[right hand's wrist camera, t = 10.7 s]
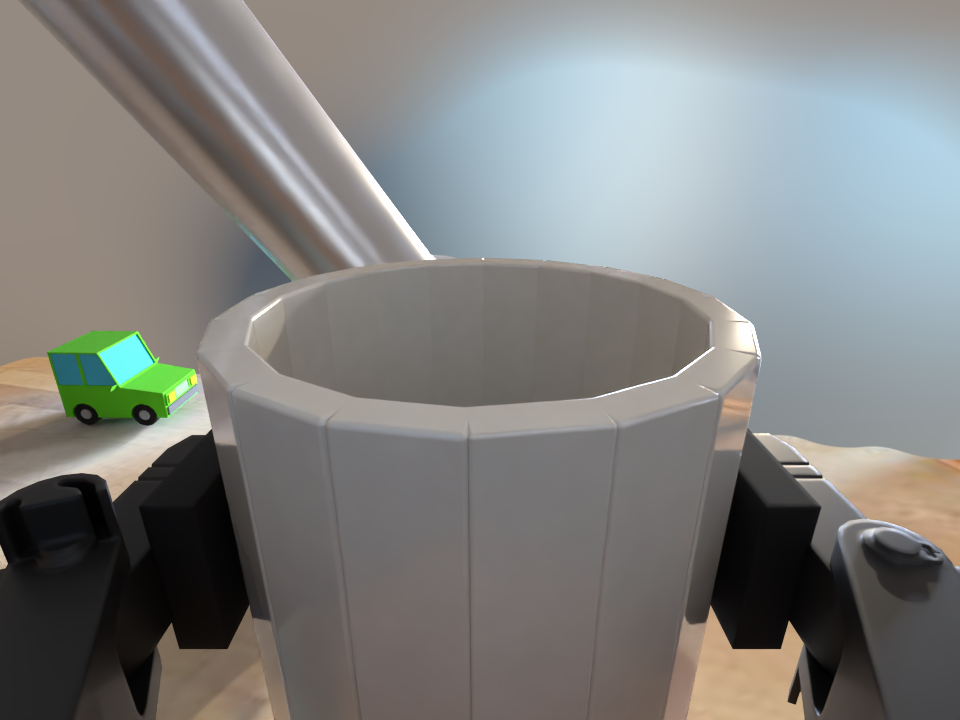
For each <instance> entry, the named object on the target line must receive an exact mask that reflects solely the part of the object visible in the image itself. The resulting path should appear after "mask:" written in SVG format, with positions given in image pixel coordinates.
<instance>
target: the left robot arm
mask: <svg viewBox="0 0 960 720" xmlns="http://www.w3.org/2000/svg"><path fill="white" fill-rule="evenodd" d="M19 1H20V2H21V4H22V5H23V6H24V7H25V8H26V9H27V10H28V11H29V12H30V13H31V14H32V15H33V16H34V17H35V18H36V19H37V20H38V21H39V22H40V23H41V24H42V25H43V26H44V27H45V28H46V29H47V30H48V31H49V32H50V33H51V34H52V35H53V36H54V37H55V38H56V39H57V40H58V41H59V42H60V43H61V44H62V45H63V47H64V48H65V49H66V50H67V51H68V52H69V53H70V54H71V55H72V56H73V57H74V58H75V59H76V60H77V61H78V62H79V63H80V64H81V65H82V66H83V67H84V68H85V69H86V70H87V71H88V72H89V73H90V74H91V75H92V76H93V77H94V78H95V79H96V80H97V81H98V82H99V83H100V84H101V85H102V86H103V88H105V90H106V91H107V92H108V93H109V94H110V95H111V96H112V97H113V98H114V99H115V100H116V101H117V102H118V103H119V104H120V105H121V106H122V107H123V108H124V109H125V110H126V111H127V112H128V113H129V114H130V115H131V116H132V117H133V118H134V119H135V120H136V121H137V122H138V123H139V124H140V125H141V126H142V127H143V128H144V130H145V131H146V132H147V133H148V134H149V135H150V136H151V137H152V138H153V139H154V140H155V141H156V142H157V143H158V144H159V145H160V146H161V147H162V148H163V149H164V150H165V151H166V152H167V153H168V154H169V155H170V156H171V157H172V158H173V159H174V160H175V161H176V162H177V163H178V164H179V165H180V166H181V167H182V168H183V169H184V170H185V172H186V173H187V174H188V175H189V176H190V177H191V178H192V179H193V180H194V181H195V182H196V183H197V184H198V185H199V186H200V187H201V188H202V189H203V190H204V191H205V192H206V193H207V194H208V195H209V196H210V197H211V198H212V199H213V200H214V201H215V202H216V203H217V204H218V205H219V206H220V207H221V208H222V209H223V210H224V211H225V212H226V214H227V215H228V216H229V217H230V218H231V219H232V220H233V221H234V222H235V223H236V224H237V225H238V226H239V227H240V228H241V229H242V230H243V231H244V232H245V233H246V234H247V235H248V236H249V237H250V238H251V239H252V240H253V241H254V242H255V243H256V244H257V245H258V246H259V247H260V248H261V249H262V250H263V251H264V252H265V253H266V255H267V256H268V257H269V258H270V259H271V260H272V261H273V262H274V263H275V264H276V265H277V266H278V267H279V268H280V269H281V270H282V271H283V272H284V273H285V274H286V275H287V276H288V277H289V278H290V279H291V280H292V281H295V280H298V279H301V278H306V277H309V276H314V275H320V274H325V273H330V272H335V271H340V270H345V269H350V268H355V267H363V266H366V265H376V264H385V263H395V262H404V261H414V260H427V259H456V258H454V257H450V256H442V255H430V254H429V252H428V251H427V250H426V248H425V247H424V246H423V244H422V243H421V241H420V240H419V239H418V237H417V236H416V235H415V233H414V232H413V231H412V229H411V228H410V227H409V225H408V224H407V222H406V221H405V220H404V218H403V217H402V216H401V214H400V213H399V212H398V210H397V209H396V208H395V206H394V205H393V204H392V202H391V201H390V199H389V198H388V197H387V195H386V194H385V193H384V191H383V190H382V189H381V187H380V186H379V184H378V183H377V182H376V180H375V179H374V178H373V176H372V175H371V174H370V172H369V171H368V170H367V168H366V167H365V166H364V164H363V163H362V161H361V160H360V159H359V157H358V156H357V155H356V153H355V152H354V151H353V149H352V148H351V147H350V145H349V144H348V143H347V141H346V140H345V138H344V137H343V136H342V134H341V133H340V132H339V130H338V129H337V128H336V126H335V125H334V123H333V122H332V121H331V119H330V118H329V117H328V115H327V114H326V113H325V111H324V110H323V109H322V107H321V106H320V104H319V103H318V102H317V100H316V99H315V98H314V96H313V95H312V94H311V92H310V91H309V90H308V88H307V87H306V85H305V84H304V83H303V81H302V80H301V79H300V77H299V76H298V75H297V73H296V72H295V71H294V69H293V68H292V66H291V65H290V64H289V62H288V61H287V60H286V58H285V57H284V56H283V54H282V53H281V52H280V50H279V49H278V48H277V46H276V45H275V44H274V42H273V41H272V39H271V38H270V37H269V35H268V34H267V33H266V31H265V30H264V28H263V27H262V26H261V24H260V23H259V22H258V20H257V19H256V18H255V16H254V15H253V14H252V12H251V11H250V10H249V8H248V7H247V5H246V4H245V3H244V1H243V0H19Z"/></svg>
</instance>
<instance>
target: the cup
mask: <svg viewBox="0 0 960 720" xmlns="http://www.w3.org/2000/svg"><path fill="white" fill-rule="evenodd" d="M196 356H197V361H198V366H199V370H200V375H201V380H202V384H203V389H204V394H205V398H206V403H207V408H208V412H209V417H210V422H211V427H212V431H213V436H214V441H215V445H216V450H217V455H218V459H219V464H220V469H221V473H222V478H223V483H224V487H225V492H226V497H227V502H228V506H229V511H230V516H231V520H232V525H233V530H234V534H235V539H236V544H237V548H238V553H239V558H240V562H241V567H242V572H243V577H244V581H245V586H246V591H247V595H248V600H249V605H250V609H251V614H252V619H253V623H254V628H255V633H256V637H257V642H258V647H259V652H260V656H261V661H262V666H263V670H264V675H265V680H266V684H267V689H268V694H269V698H270V703H271V708H272V712H273V717H274V720H686V719H687V714H688V709H689V705H690V700H691V695H692V690H693V685H694V681H695V676H696V671H697V666H698V662H699V657H700V652H701V647H702V642H703V638H704V633H705V628H706V623H707V618H708V614H709V609H710V604H711V599H712V594H713V590H714V585H715V580H716V575H717V570H718V566H719V561H720V556H721V551H722V547H723V542H724V537H725V532H726V527H727V523H728V518H729V513H730V508H731V503H732V499H733V494H734V489H735V484H736V479H737V475H738V470H739V465H740V460H741V456H742V451H743V446H744V441H745V436H746V432H747V427H748V422H749V417H750V412H751V407H752V403H753V398H754V393H755V388H756V384H757V379H758V374H759V369H760V364H761V360H762V359H761V355H760V351H759V347H758V343H757V339H756V335H755V331H754V327H753V325H752V324H751V323H750V322H749V321H748V320H747V319H745V318H744V317H742V316H741V315H739V314H738V313H736V312H735V311H734V310H732V309H731V308H729V307H728V306H726V305H725V304H724V303H722V302H721V301H719V300H718V299H716V298H715V297H713V296H711V295H708V294H705V293H702V292H699V291H697V290H694V289H691V288H688V287H685V286H683V285H680V284H677V283H674V282H671V281H668V280H666V279H662V278H657V277H653V276H648V275H643V274H638V273H633V272H628V271H624V270H619V269H614V268H609V267H605V268H604V267H602V266H593V265H584V264H575V263H566V262H557V261H549V260H548V261H543V260H529V259H502V258H485V259H483V258H459V259H427V260H414V261H404V262H395V263H385V264H376V265H366V266H363V267H355V268H350V269H345V270H340V271H335V272H330V273H325V274H320V275H314V276H309V277H306V278H301V279H298V280H295V281H292V282H289V283H286V284H284V285H280V286H277V287H274V288H272V289H269V290H265V291H263V292H260V293H256V294H254V295H253V296H250V297H248V298H246V299H244V300H243V301H241V302H240V303H238V304H236V305H235V306H233V307H231V308H230V309H228V310H227V311H225V312H223V313H222V314H220V315H219V316H217V317H216V318H214V319H213V320H211V321H209V324H208V326H207V328H206V331H205V333H204V335H203V338H202V340H201V342H200V345H199V347H198V350H197V352H196Z"/></svg>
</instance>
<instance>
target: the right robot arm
mask: <svg viewBox="0 0 960 720" xmlns="http://www.w3.org/2000/svg"><path fill="white" fill-rule="evenodd" d="M0 545H1V548H2V550H3V553H4V555H5V557H6V560H7V562H8V565H7V567H6V569H1V570H0V720H155V718H156V710H157V702H158V694H159V686H160V678H161V670H162V666H161V659H160V655H159V651H158V648H157V644H158V642H159V641H160V639H161V638H162V636H163V635H164V633H165V632H166V630H167V629H168V627H169V625H170V624H171V622H172V625H173V628H174V632H175V635H176V639H177V642H178V645H179V649H228V647H229V645H230V643H231V641H232V639H233V637H234V635H235V633H236V631H237V629H238V627H239V625H240V623H241V621H242V619H243V617H244V615H245V613H246V611H247V609H248V607H249V600H248V595H247V591H246V586H245V581H244V577H243V572H242V567H241V562H240V558H239V553H238V548H237V544H236V539H235V534H234V530H233V525H232V520H231V516H230V511H229V506H228V502H227V497H226V492H225V487H224V483H223V478H222V473H221V469H220V464H219V459H218V455H217V450H216V445H215V441H214V436H213V431H212V429H211V430H210V431H209V432H208V433H207V434H206V435H191V436H189V437H188V438H186V439H184V440H182V441H180V442H179V443H177V444H175V445H173V446H172V447H170V448H168V449H167V450H166V451H165V452H164V453H163V454H162V455H161V456H160V457H159V458H158V459H157V460H156V461H155V462H154V463H153V464H152V467H148V468H147V469H146V470H145V471H144V472H143V473H142V474H141V475H140V476H139V477H138V481H134V482H133V483H132V484H131V485H130V486H129V487H128V488H127V489H126V490H125V491H124V492H123V493H122V494H121V495H120V496H119V497H118V498H117V499H116V500H115V501H114V502H112V499H111V496H110V492H109V489H108V486H107V483H106V480H104V479H103V478H101V477H99V476H98V475H93V474H84V473H79V474H70V475H61V476H58V477H54V478H50V479H46V480H42V481H39V482H37V483H34V484H32V485H29V486H27V487H25V488H22V489H20V490H17V491H16V492H14V493H13V494H11V495H9V496H8V497H6V498H4V499H3V500H1V501H0ZM711 606H712V608H713V610H714V612H715V614H716V616H717V618H718V620H719V622H720V624H721V626H722V628H723V630H724V632H725V634H726V636H727V638H728V640H729V642H730V644H731V646H732V648H733V649H781V646H782V643H783V639H784V636H785V632H786V629H787V625H788V622H789V621H790V622H791V624H792V625H793V627H794V629H795V630H796V632H797V633H798V635H799V636H800V638H801V639H802V641H803V642H804V645H803V648H802V651H801V655H800V658H799V661H798V664H797V667H796V671H795V674H794V677H793V680H792V684H791V687H790V690H789V696H788V702H789V703H792V704H795V705H796V702H797V699H798V696H799V693H800V692H802V700H803V708H804V716H805V720H960V567H957V566H953V564H952V562H951V561H950V560H949V559H948V557H947V556H946V555H945V554H944V553H943V551H942V550H941V549H939V548H938V547H937V546H935V545H934V544H932V543H931V542H930V541H928V540H927V539H925V538H924V537H922V536H920V535H918V534H916V533H914V532H912V531H909V530H907V529H905V528H903V527H900V526H897V525H893V524H890V523H887V522H883V521H877V520H869V519H867V518H866V517H865V516H864V515H863V514H862V513H861V512H860V511H859V510H857V509H856V508H855V507H854V506H853V505H852V504H851V503H850V502H849V501H848V500H847V499H846V498H845V497H844V496H843V495H842V494H841V493H840V492H839V491H838V490H837V489H836V488H835V487H834V486H833V485H832V484H831V483H830V482H829V481H828V480H827V479H823V478H822V475H821V474H820V473H819V472H818V471H817V470H816V469H815V468H814V467H813V466H812V465H809V462H808V461H807V460H806V459H805V458H804V457H803V456H802V455H801V454H800V453H799V452H798V451H797V450H796V449H795V448H794V447H792V446H791V445H789V444H787V443H785V442H783V441H782V440H780V439H778V438H776V437H774V436H773V435H771V434H769V433H752V432H751V431H750V430H749V429H748V428H747V432H746V436H745V441H744V446H743V451H742V456H741V460H740V465H739V470H738V475H737V479H736V484H735V489H734V494H733V499H732V503H731V508H730V513H729V518H728V523H727V527H726V532H725V537H724V542H723V547H722V551H721V556H720V561H719V566H718V570H717V575H716V580H715V585H714V590H713V594H712V599H711Z"/></svg>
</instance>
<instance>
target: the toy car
mask: <svg viewBox="0 0 960 720" xmlns="http://www.w3.org/2000/svg"><path fill="white" fill-rule="evenodd" d="M47 354H48V357H49V360H50V363H51V367H52V370H53V373H54V376H55V380H56V383H57V386H58V389H59V393H60V396H61V399H62V402H63V406H64V409H65V412H66V415H67V417H75V416H76V417H77V419H78V420H79V421H81V422H82V423H84V424H89V425H90V424H94V423H96V422H98V421H99V420H100V419H101V418H102V417H107V418H133V417H134V418H135V420H136V421H137V422H139V423H140V424H142V425H146V426H148V425H152V424H154V423H155V422H156V421H157V420H158V419H159V418H167V417H169V416H170V415H171V414H172V413H174V412H175V411H176V410H177V409H178V408H180V407H181V406H182V405H183V404H184V403H186V402H187V401H188V400H189V399H190V398H191V397H193V396H194V395H195V394H196V393H197V392H198V384H197V379H196V374H195V371H194V369H189V368H183V367H177V366H171V365H165V364H159V363H157V362H158V359H159V357H158V358H157V359H155V358H154V357H153V355H152V354H151V352H150V351H149V349H148V347H147V346H146V344H145V342H144V341H143V339H142V338H141V336H140V334H139V333H138V332H137V331H92V332H89V333H87V334H85V335H83V336H81V337H79V338H77V339H74V340H72V341H70V342H68V343H66V344H64V345H62V346H59V347H57V348H55V349H53V350H51V351H49V352H47Z"/></svg>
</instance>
